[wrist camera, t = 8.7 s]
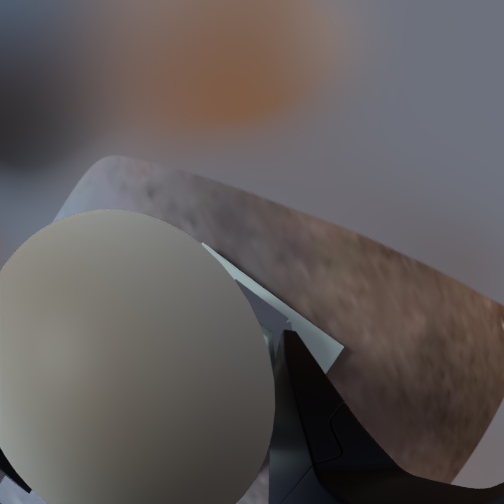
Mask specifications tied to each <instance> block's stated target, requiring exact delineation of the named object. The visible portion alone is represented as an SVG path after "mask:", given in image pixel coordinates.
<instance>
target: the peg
mask: <svg viewBox="0 0 504 504" xmlns="http://www.w3.org/2000/svg"><path fill="white" fill-rule="evenodd" d="M274 414H275V389H274V377H273V371H272V366H271V360H270V355H269V351H268V348H267V345H266V342H265V339H264V336H263V332H262V329H261V327H260V325H259V322H258V320H257V318H256V316H255V314H254V312H253V310H252V307H251V305H250V303H249V302H248V300H247V298H246V297H245V295H244V294H243V292H242V291H241V289H240V287H239V286H238V284H237V283H236V281H235V280H234V279H233V277H232V276H231V275H230V274H229V273H228V271H227V270H226V269H225V268H224V266H223V265H222V264H221V263H220V262H219V261H218V260H217V259H216V258H215V257H214V256H213V255H212V254H211V253H210V252H209V251H208V250H207V249H206V248H205V247H203V246H202V245H201V244H200V243H199V242H197V241H196V240H194V239H193V238H192V237H190V236H189V235H187V234H186V233H185V232H183V231H181V230H180V229H178V228H176V227H174V226H172V225H170V224H168V223H166V222H164V221H162V220H159V219H156V218H154V217H151V216H148V215H145V214H141V213H136V212H131V211H126V210H112V209H103V210H92V211H86V212H81V213H77V214H73V215H70V216H67V217H65V218H62V219H60V220H57V221H55V222H53V223H51V224H50V225H48V226H46V227H44V228H43V229H41V230H40V231H38V232H37V233H36V234H34V235H33V236H32V237H30V238H29V239H28V240H27V241H25V242H24V243H23V244H22V245H21V246H20V247H19V248H18V249H17V250H16V251H15V253H14V254H13V255H12V256H11V257H10V259H9V260H8V261H7V262H6V264H5V265H4V267H3V268H2V270H1V272H0V448H1V450H2V451H3V453H4V455H5V456H6V458H7V459H8V461H9V462H10V464H11V465H12V467H13V468H14V469H15V471H16V472H17V473H18V474H19V476H20V477H21V478H22V479H23V480H24V481H25V483H26V484H27V485H28V486H29V487H30V488H31V489H32V490H33V491H34V492H35V493H36V494H37V495H38V496H39V497H41V498H42V499H43V500H44V501H45V502H47V503H48V504H236V503H237V502H238V501H239V500H240V499H241V498H242V497H243V496H244V494H245V493H246V491H247V490H248V489H249V487H250V486H251V484H252V483H253V481H254V480H255V478H256V477H257V474H258V472H259V470H260V468H261V466H262V464H263V462H264V459H265V457H266V454H267V451H268V447H269V443H270V440H271V436H272V431H273V423H274Z"/></svg>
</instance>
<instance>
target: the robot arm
mask: <svg viewBox="0 0 504 504" xmlns="http://www.w3.org/2000/svg"><path fill="white" fill-rule="evenodd" d="M273 377H274V389H275V414H274V423H273V431H272V436H271V440H270V465H269V504H504V482H503V483H501V484H499V485H497V486H494V487H491V488H485V489H474V488H467V487H461V486H456V485H451V484H446V483H442V482H437V481H433V480H429V479H425V478H421V477H417V476H414V475H412V474H409V473H408V472H406V471H404V470H403V469H402V468H400V467H399V466H398V465H397V464H396V463H395V462H394V461H393V460H392V459H391V457H390V456H389V455H388V454H387V453H386V452H385V451H384V450H383V449H382V448H381V447H380V445H379V444H378V443H377V442H376V441H375V440H374V439H373V438H372V437H371V436H370V434H369V433H368V432H367V431H366V430H365V428H364V427H363V426H362V425H361V424H360V422H359V421H358V420H357V418H356V417H355V416H354V414H353V413H352V412H351V410H350V409H349V407H348V406H347V404H346V403H344V400H343V399H342V397H341V396H340V394H339V393H338V392H337V390H336V389H335V387H334V386H333V384H332V383H331V381H330V380H329V378H328V377H327V376H326V374H325V373H324V371H323V370H322V368H321V367H320V365H319V364H318V362H317V361H316V359H315V358H314V357H313V355H312V354H311V352H310V351H309V349H308V348H307V346H306V345H305V343H304V342H303V340H302V339H301V337H300V336H299V335H298V333H297V332H296V331H293V330H287V329H284V330H283V331H282V334H281V338H280V342H279V345H278V349H277V354H276V360H275V368H274V375H273ZM5 475H6V476H7V477H8V478H9V479H10V480H12V481H13V482H14V483H16V484H17V485H18V486H20V487H21V488H22V489H24V490H25V491H26V492H28V493H30V492H31V490H32V489H31V488H30V487H29V486H28V485H27V484H26V483H25V481H24V480H23V479H22V478H21V477H20V476H19V474H18V473H17V472H16V471H15V469H14V468H13V467H12V465H11V464H10V462H9V461H8V459H7V458H6V456H5V455H4V453H3V451H2V450H1V448H0V483H1V482H2V480H3V478H4V477H5ZM0 504H1V503H0Z"/></svg>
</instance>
